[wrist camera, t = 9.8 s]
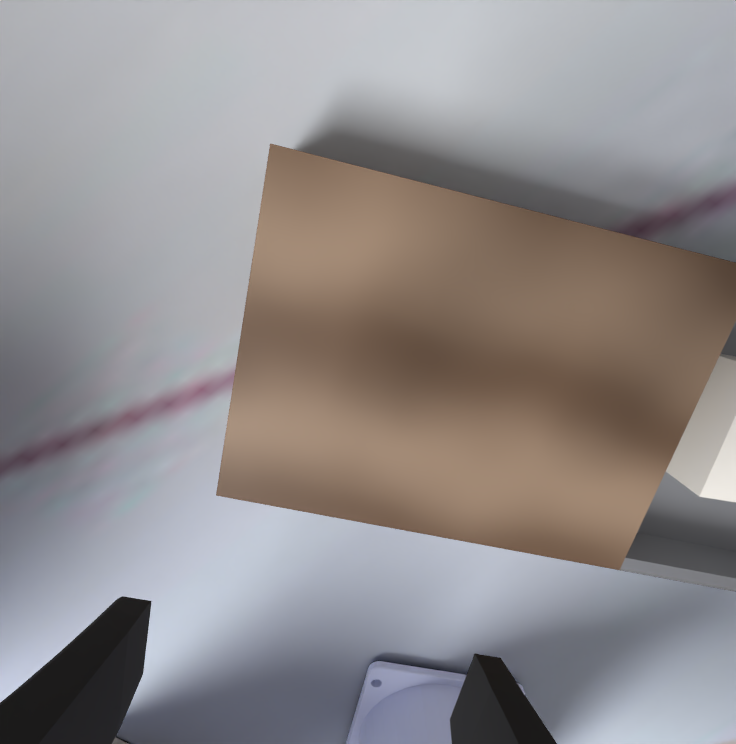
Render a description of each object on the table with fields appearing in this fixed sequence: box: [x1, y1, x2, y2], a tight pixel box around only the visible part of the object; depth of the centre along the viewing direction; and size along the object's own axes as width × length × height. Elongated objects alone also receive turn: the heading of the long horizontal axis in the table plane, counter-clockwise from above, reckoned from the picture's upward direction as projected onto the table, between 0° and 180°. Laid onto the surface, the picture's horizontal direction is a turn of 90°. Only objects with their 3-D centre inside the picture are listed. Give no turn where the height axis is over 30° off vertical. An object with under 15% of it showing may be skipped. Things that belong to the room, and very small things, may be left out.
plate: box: [216, 144, 736, 570], centre depth 17 cm, size 12×16×2 cm
